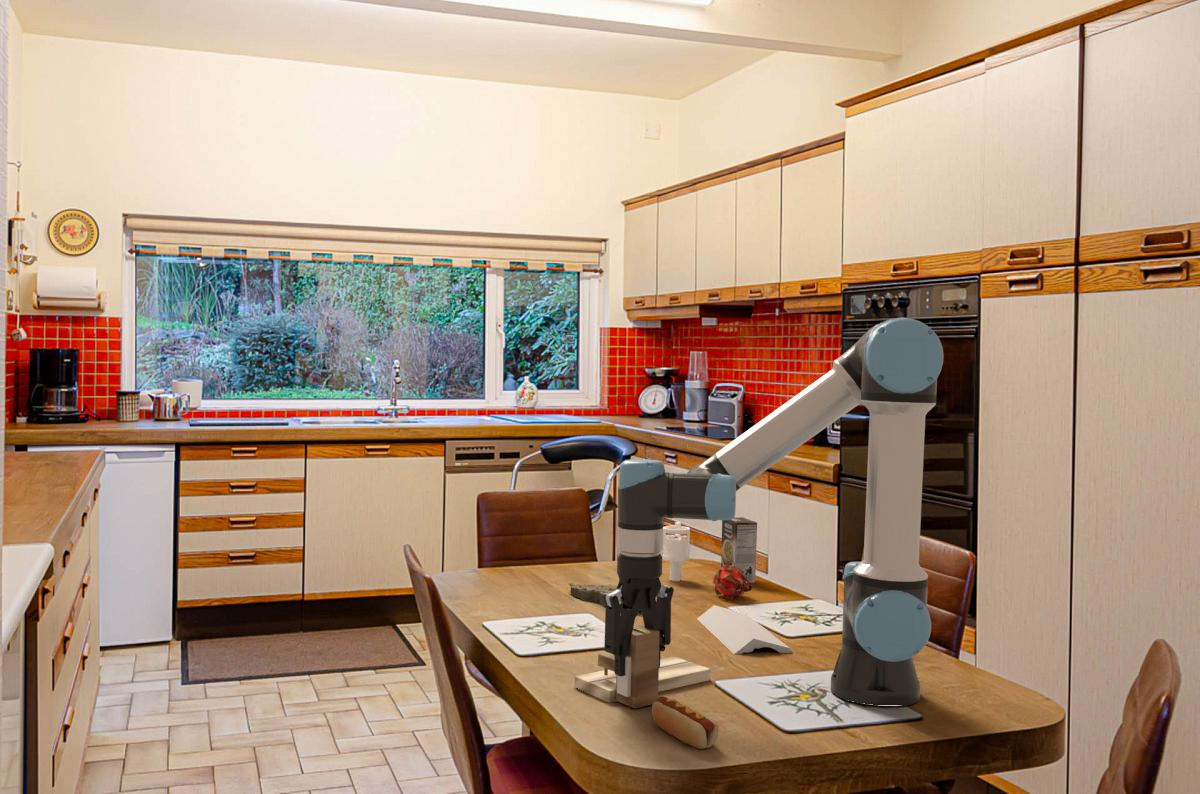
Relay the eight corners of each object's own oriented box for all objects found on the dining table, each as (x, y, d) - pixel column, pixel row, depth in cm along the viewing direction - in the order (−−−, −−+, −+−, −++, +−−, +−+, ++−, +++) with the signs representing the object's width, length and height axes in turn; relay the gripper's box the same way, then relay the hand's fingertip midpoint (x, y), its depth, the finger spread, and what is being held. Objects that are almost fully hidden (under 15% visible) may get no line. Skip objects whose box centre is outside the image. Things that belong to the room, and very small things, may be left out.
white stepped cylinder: (690, 578, 281) (691, 522, 281) (686, 583, 274) (687, 526, 274) (664, 576, 283) (665, 520, 282) (659, 581, 276) (661, 524, 275)
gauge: (658, 703, 176) (659, 629, 175) (635, 708, 173) (636, 633, 172) (613, 684, 185) (614, 615, 185) (590, 689, 182) (591, 618, 182)
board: (710, 680, 190) (710, 668, 190) (609, 702, 176) (609, 690, 176) (673, 666, 198) (673, 655, 198) (574, 687, 184) (574, 675, 184)
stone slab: (665, 606, 245) (662, 586, 245) (626, 623, 238) (622, 601, 238) (596, 590, 267) (593, 571, 266) (558, 605, 259) (555, 585, 259)
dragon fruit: (723, 597, 266) (741, 615, 254) (699, 579, 263) (716, 596, 252) (744, 570, 266) (763, 587, 255) (720, 552, 263) (738, 568, 252)
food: (725, 749, 156) (726, 716, 156) (695, 756, 154) (696, 721, 154) (673, 721, 169) (674, 690, 168) (644, 726, 166) (645, 695, 166)
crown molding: (793, 655, 210) (793, 637, 210) (734, 657, 208) (734, 639, 208) (748, 620, 239) (748, 604, 239) (695, 621, 237) (695, 605, 237)
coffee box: (719, 576, 284) (721, 517, 284) (741, 575, 286) (743, 516, 285) (733, 583, 275) (735, 522, 275) (756, 582, 277) (757, 521, 277)
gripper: (666, 544, 184) (663, 676, 185) (582, 554, 173) (580, 695, 174) (695, 551, 178) (692, 687, 179) (610, 561, 167) (608, 707, 168)
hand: (637, 691), depth 176 cm, fingers closed on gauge, 5 cm apart
